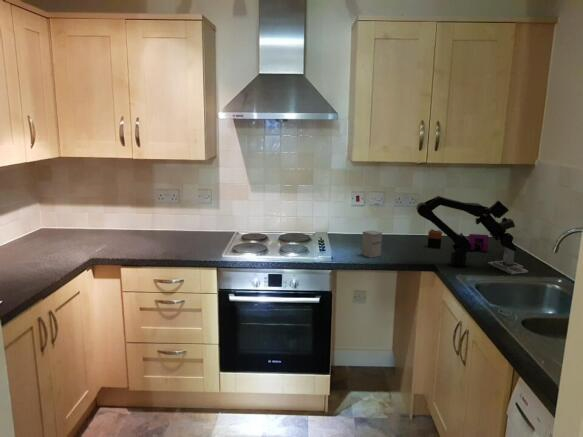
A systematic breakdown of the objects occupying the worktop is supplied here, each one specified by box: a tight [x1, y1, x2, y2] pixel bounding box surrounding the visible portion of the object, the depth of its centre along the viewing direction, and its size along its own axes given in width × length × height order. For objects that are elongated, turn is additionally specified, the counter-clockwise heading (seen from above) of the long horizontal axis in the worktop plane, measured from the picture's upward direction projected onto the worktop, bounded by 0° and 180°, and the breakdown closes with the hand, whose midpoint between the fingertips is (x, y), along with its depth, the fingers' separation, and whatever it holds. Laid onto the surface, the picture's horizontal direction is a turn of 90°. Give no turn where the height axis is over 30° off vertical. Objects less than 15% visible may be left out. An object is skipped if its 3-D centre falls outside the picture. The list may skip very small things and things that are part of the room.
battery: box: [427, 229, 443, 250], centre depth 260 cm, size 4×7×10 cm, turn 67°
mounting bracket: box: [466, 233, 489, 252], centre depth 260 cm, size 10×8×18 cm
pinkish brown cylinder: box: [361, 229, 383, 259], centre depth 242 cm, size 7×7×13 cm
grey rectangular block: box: [502, 247, 516, 267], centre depth 224 cm, size 4×4×10 cm
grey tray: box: [487, 260, 529, 275], centre depth 225 cm, size 9×17×2 cm, turn 17°
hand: (512, 248), depth 223 cm, fingers open, 9 cm apart
